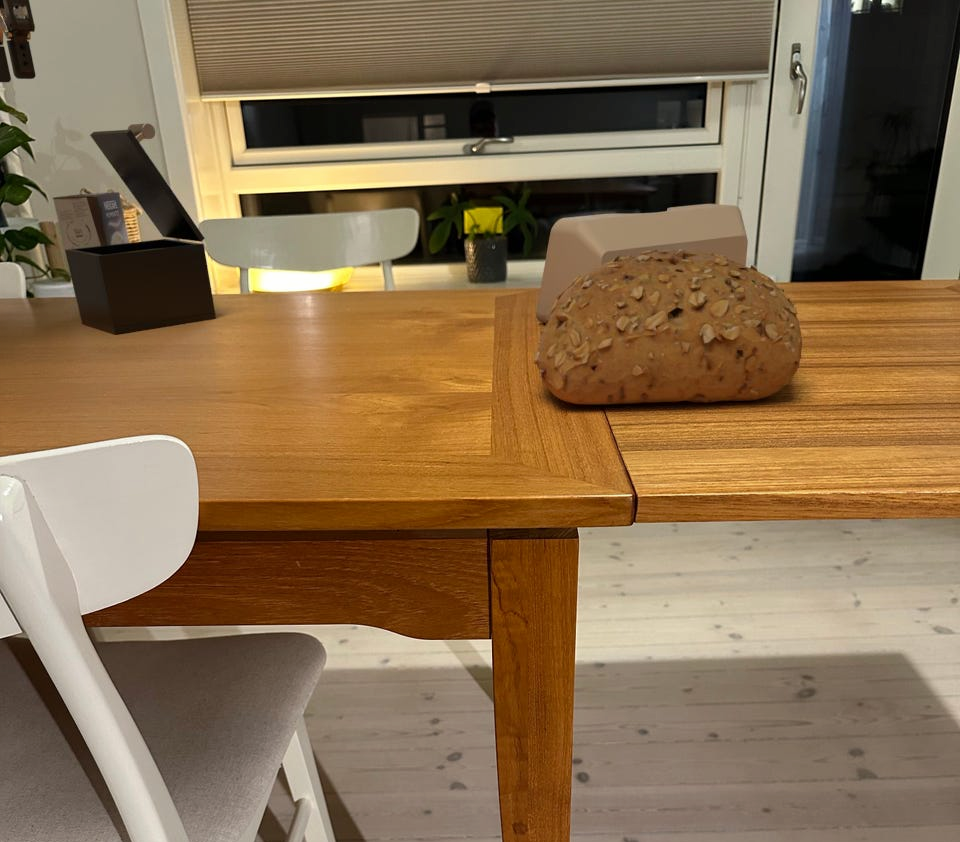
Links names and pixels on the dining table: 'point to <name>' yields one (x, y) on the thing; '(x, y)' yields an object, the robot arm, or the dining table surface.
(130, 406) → the dining table surface
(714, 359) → the bread
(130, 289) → the open black box
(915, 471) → the dining table surface
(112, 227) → the coffee box
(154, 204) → the lid
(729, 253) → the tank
